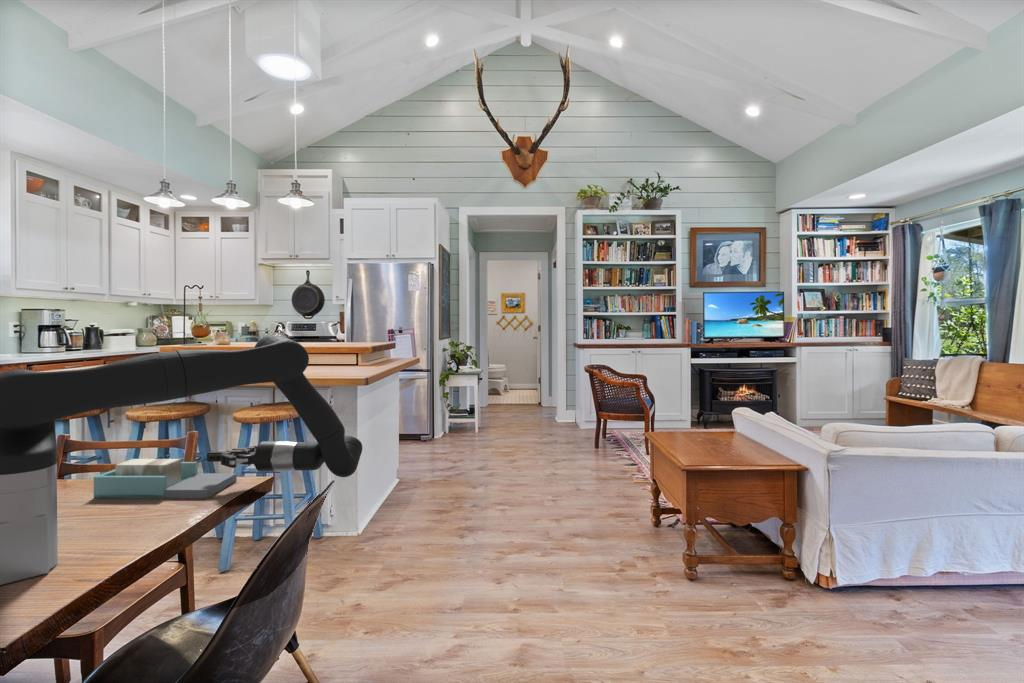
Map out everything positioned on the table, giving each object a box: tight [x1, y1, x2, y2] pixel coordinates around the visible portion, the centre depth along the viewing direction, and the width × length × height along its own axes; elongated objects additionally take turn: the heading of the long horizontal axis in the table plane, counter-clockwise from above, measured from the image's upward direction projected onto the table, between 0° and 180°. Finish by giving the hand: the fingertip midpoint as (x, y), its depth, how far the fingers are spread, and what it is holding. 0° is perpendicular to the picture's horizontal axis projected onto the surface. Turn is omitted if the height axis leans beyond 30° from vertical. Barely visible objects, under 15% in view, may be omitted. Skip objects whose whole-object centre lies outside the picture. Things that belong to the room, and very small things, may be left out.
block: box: [115, 458, 182, 488], centre depth 128 cm, size 6×6×12 cm
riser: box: [163, 472, 238, 499], centre depth 129 cm, size 10×14×2 cm
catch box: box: [93, 461, 199, 499], centre depth 128 cm, size 16×14×5 cm
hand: (208, 456), depth 129 cm, fingers closed
